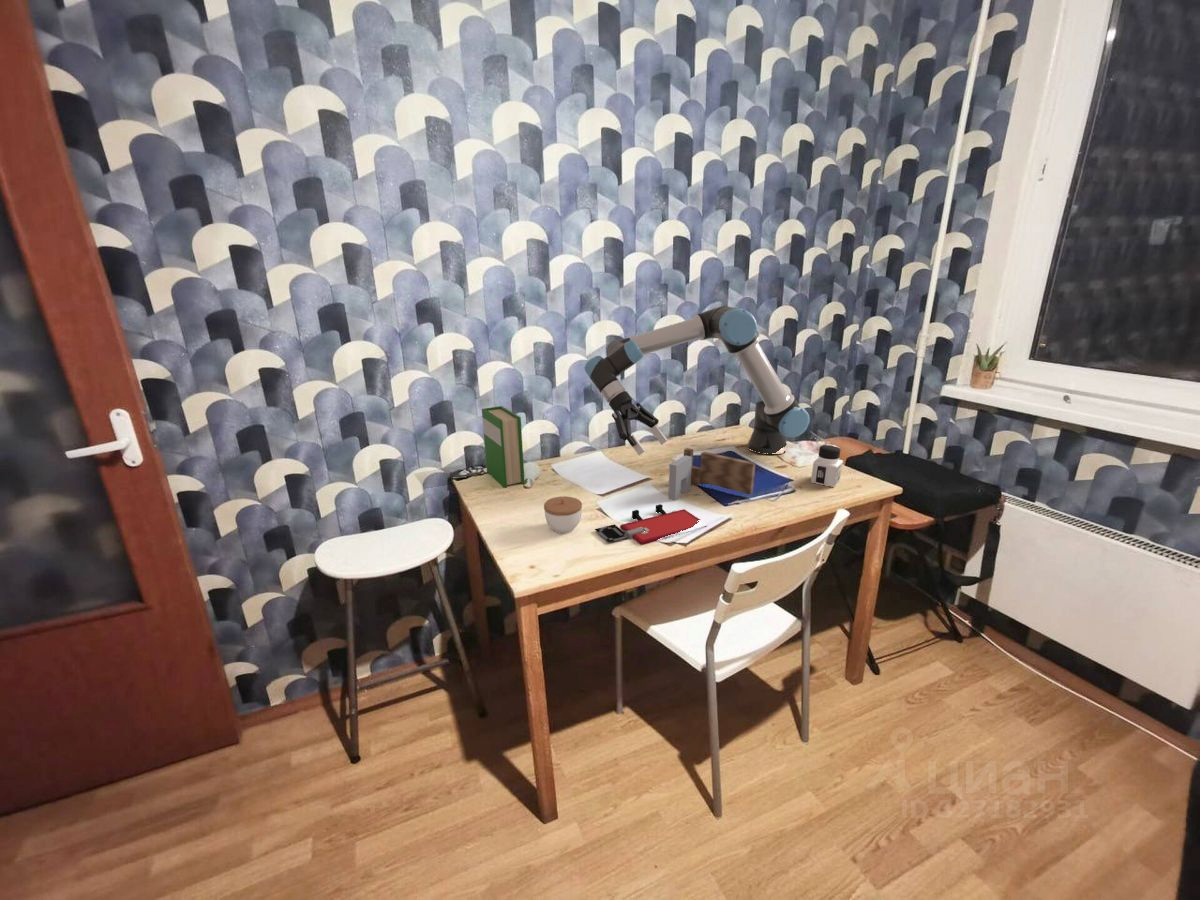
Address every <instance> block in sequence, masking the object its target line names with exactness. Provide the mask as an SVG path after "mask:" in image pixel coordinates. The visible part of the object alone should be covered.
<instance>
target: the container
mask: <svg viewBox="0 0 1200 900" xmlns="http://www.w3.org/2000/svg"><path fill="white" fill-rule="evenodd" d="M840 455H841V448H840V447H839V446H837V445H834V444H823V445H820V446H819V450H818V456H817V458H816V459H815V461H813V463H812V472H811V478H810V479H811V480H810V483H811V484H814V483H816V484H815V485H819V484H820V486H823V485H825V487H828V486H831V487H830V488H832V487H834V488H835V487H836V486H837V485H838V484H839V483H840V481H841V475H842V468H843V464H844V460H842V459H840ZM836 484H837V485H836ZM835 485H836V486H835Z"/></svg>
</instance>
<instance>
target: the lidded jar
mask: <svg viewBox="0 0 1200 900" xmlns="http://www.w3.org/2000/svg"><path fill="white" fill-rule="evenodd" d="M582 508H583V504H582V501H581V500H580V499H578V498H577V497H572V496H564V495H563V496H556V497H555V496H554V497H553V498H552V497H551V498H550V499H548V500H546V501H545V502H544V504H543V509H544V517H545V520H546V523H547V524H548V526H549V527H550V529H552V530H553V531H554V532H555V533H556V534H569V533H572V532H573V531H574V530H575V529H576V528H577V526H578V525H579V524H580V522H581V519H582V513H583V512H582V511H583V510H582Z"/></svg>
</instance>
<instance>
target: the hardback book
mask: <svg viewBox="0 0 1200 900" xmlns="http://www.w3.org/2000/svg"><path fill="white" fill-rule="evenodd" d="M481 416H482V418H481V419H482V427H483V428H482V429H483V440H484V453H485V463H486V464H485V465H486V473H487V474H488V475H489V476H491V477H492V478H493V480H495V482H497V483H498V484H499V486H501V487H502V488H503V489H507V488H508V486H509V485H514V484H518V483H519V484H521V485H525V484H526V482H525V467H524V466H525V465H524V452H523V436H522V435H523V434H522V417H521V416H520V415H517V414H516V413H514V412H512V411H511V410H509V409H508V408H506V407H504V406H502V405H499V406H493V407H485V408H481Z"/></svg>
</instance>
